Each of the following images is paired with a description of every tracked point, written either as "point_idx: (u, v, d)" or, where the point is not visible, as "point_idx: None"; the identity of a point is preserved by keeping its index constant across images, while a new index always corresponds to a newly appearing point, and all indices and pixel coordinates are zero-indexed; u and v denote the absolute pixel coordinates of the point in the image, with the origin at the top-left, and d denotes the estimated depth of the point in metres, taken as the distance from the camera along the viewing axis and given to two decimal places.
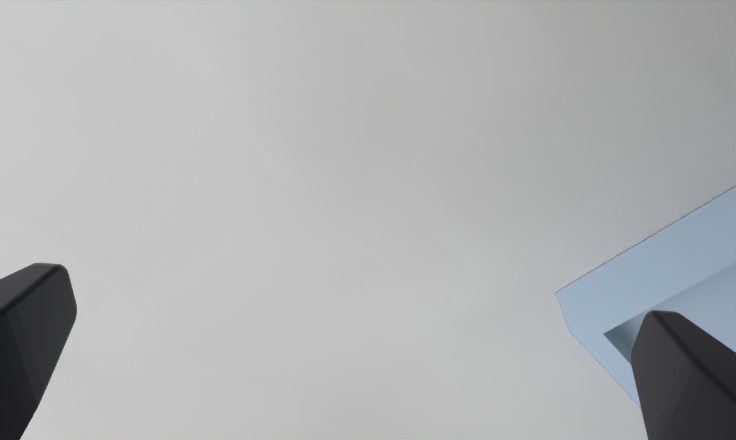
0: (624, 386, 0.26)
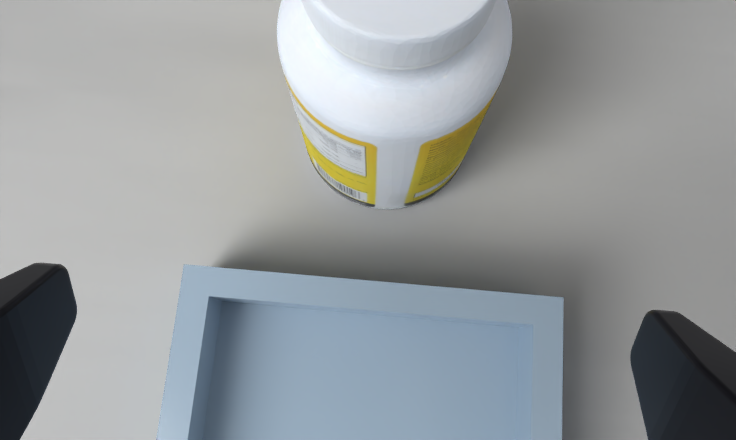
0: None
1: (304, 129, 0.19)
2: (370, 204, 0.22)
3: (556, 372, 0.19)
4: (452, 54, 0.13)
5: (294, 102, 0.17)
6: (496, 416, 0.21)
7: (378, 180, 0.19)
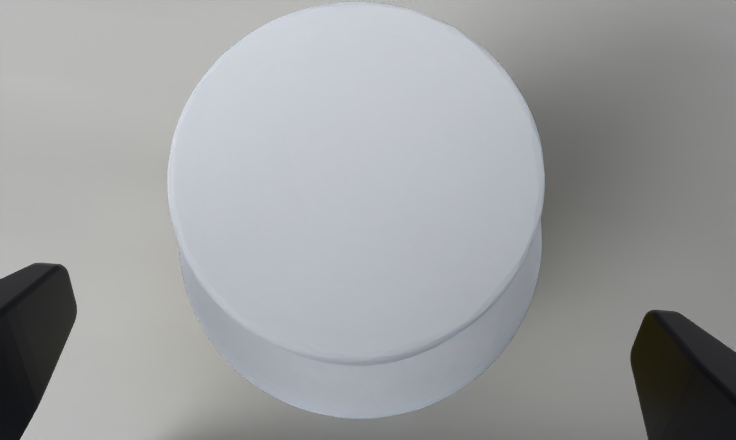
0: None
1: None
2: None
3: None
4: None
5: None
6: None
7: None
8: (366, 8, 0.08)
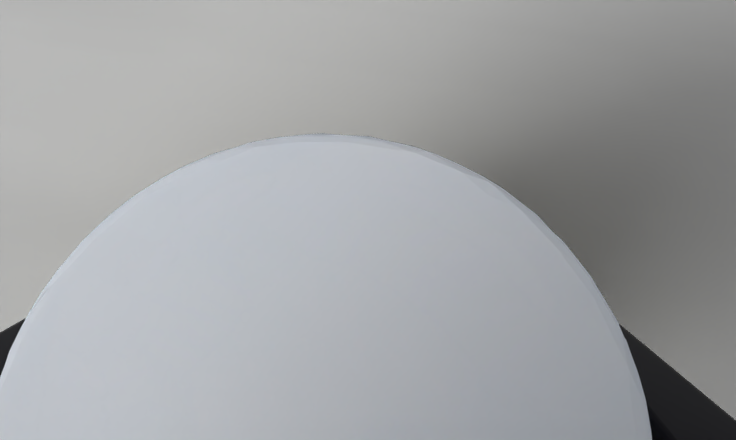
0: None
1: None
2: None
3: None
4: None
5: None
6: None
7: None
8: (339, 147, 0.05)
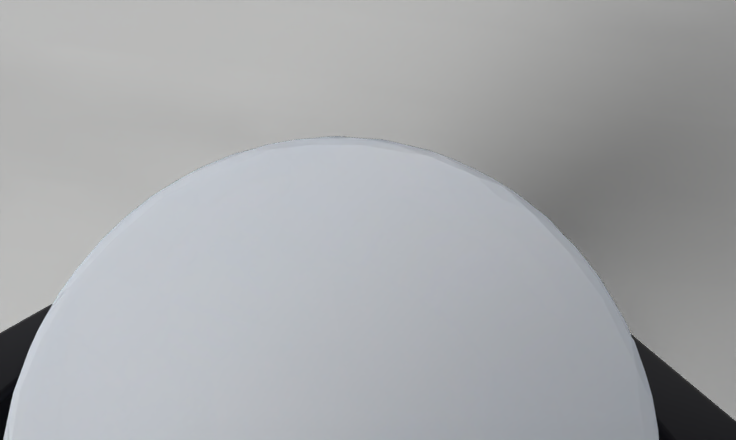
0: None
1: None
2: None
3: None
4: None
5: None
6: None
7: None
8: (355, 149, 0.05)
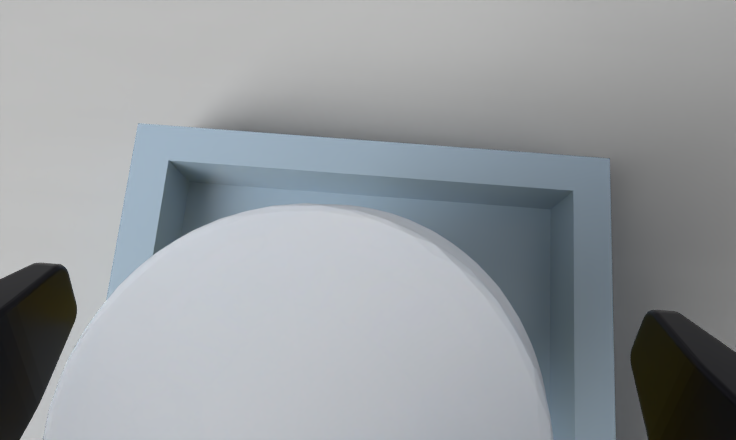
0: None
1: None
2: None
3: (603, 246, 0.15)
4: None
5: None
6: (526, 314, 0.17)
7: None
8: (316, 214, 0.06)
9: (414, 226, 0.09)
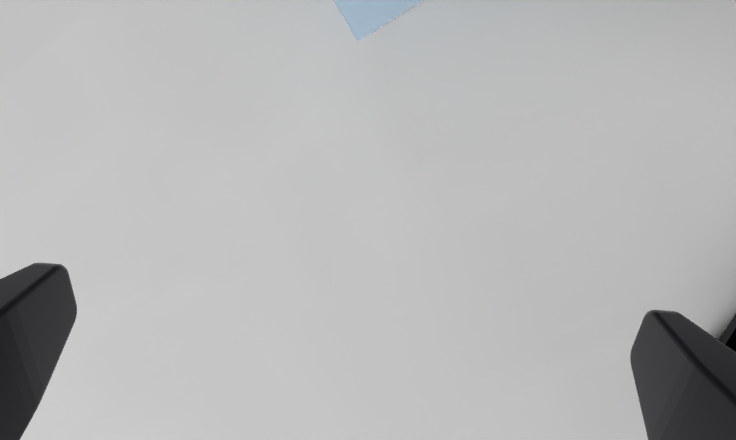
0: None
1: None
2: None
3: None
4: None
5: None
6: None
7: None
8: None
9: None
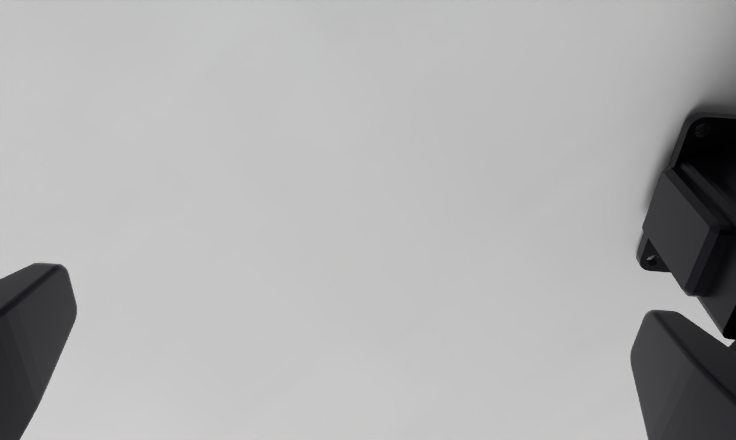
0: None
1: None
2: None
3: None
4: None
5: None
6: None
7: None
8: None
9: None
